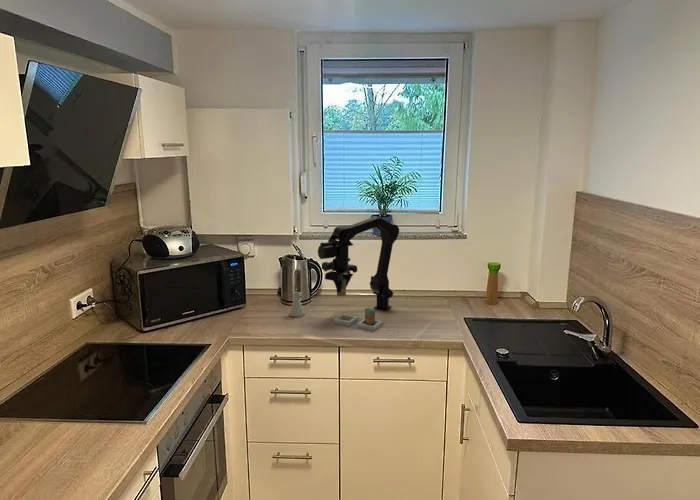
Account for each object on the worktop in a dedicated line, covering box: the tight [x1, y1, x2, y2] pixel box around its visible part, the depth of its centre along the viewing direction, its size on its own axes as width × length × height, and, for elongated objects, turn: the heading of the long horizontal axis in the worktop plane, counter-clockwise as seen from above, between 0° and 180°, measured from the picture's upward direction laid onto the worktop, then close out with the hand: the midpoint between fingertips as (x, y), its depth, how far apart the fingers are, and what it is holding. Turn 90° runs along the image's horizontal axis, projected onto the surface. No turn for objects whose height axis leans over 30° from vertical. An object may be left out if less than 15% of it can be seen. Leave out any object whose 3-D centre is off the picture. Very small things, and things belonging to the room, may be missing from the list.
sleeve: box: [336, 279, 347, 297], centre depth 219 cm, size 4×4×7 cm
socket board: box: [330, 313, 386, 333], centre depth 211 cm, size 12×20×3 cm, turn 63°
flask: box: [288, 291, 306, 318], centre depth 223 cm, size 7×7×10 cm
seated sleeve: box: [364, 307, 376, 326], centre depth 208 cm, size 4×4×7 cm
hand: (341, 291), depth 220 cm, fingers closed on sleeve, 4 cm apart
